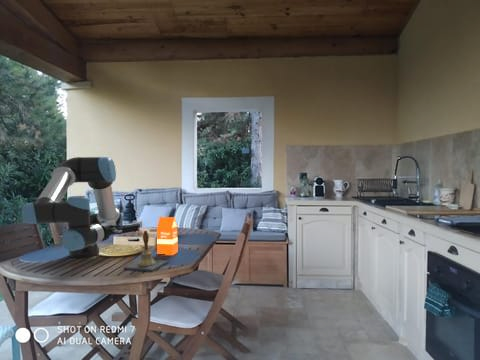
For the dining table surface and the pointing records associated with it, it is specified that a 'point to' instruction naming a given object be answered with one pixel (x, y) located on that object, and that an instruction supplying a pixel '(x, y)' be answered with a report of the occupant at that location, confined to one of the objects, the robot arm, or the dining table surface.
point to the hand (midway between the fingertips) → (128, 223)
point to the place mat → (145, 268)
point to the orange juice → (167, 236)
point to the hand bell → (146, 253)
